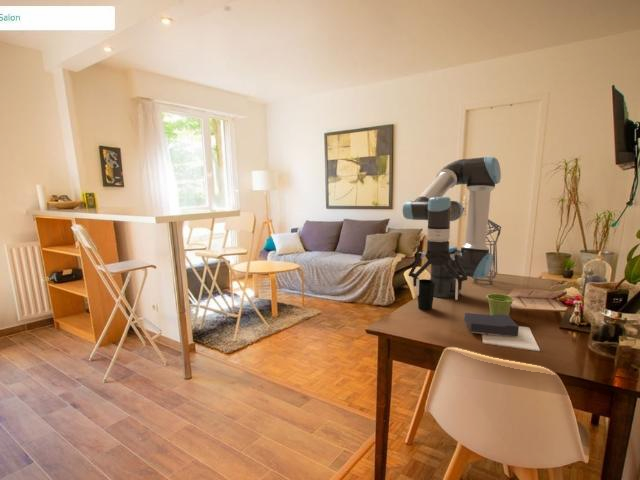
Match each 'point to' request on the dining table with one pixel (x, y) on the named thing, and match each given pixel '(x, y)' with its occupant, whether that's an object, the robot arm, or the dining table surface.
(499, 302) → the plant pot
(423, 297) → the cup
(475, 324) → the dark navy block
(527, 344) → the felt mat
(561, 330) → the dining table surface
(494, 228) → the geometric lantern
